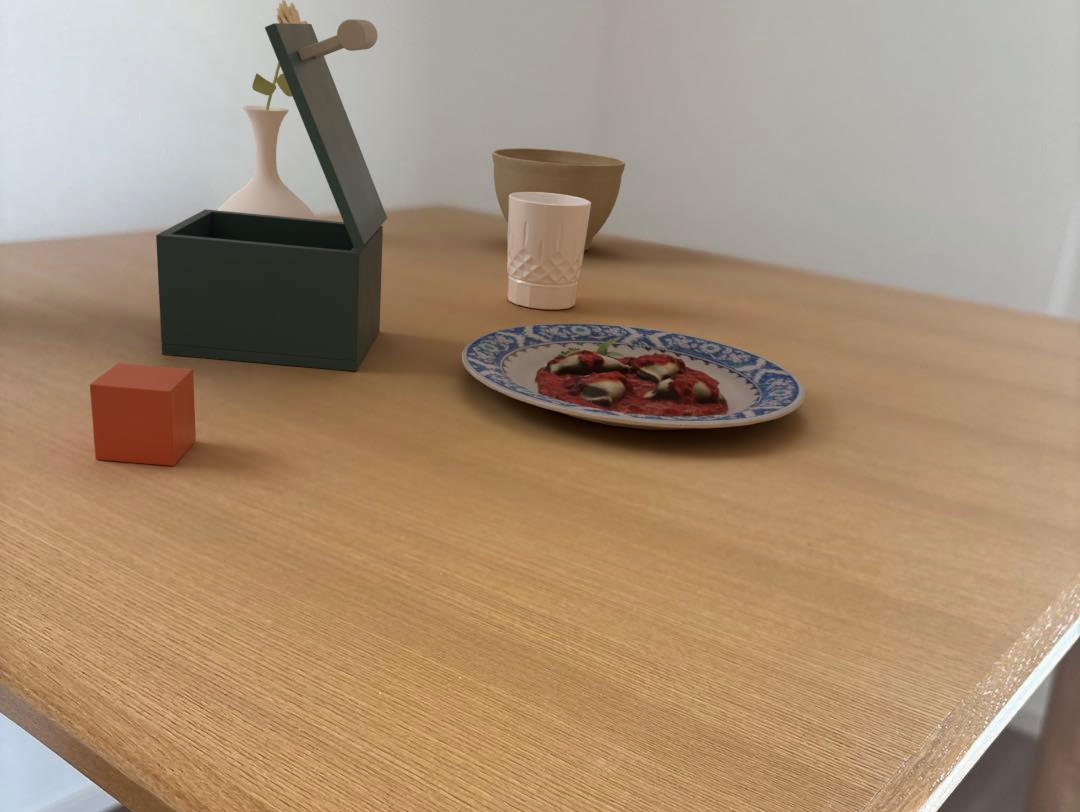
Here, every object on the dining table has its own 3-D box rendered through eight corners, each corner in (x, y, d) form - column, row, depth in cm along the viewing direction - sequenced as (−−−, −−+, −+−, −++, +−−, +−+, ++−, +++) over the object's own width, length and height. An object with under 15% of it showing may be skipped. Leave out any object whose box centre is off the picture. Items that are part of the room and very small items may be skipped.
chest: (161, 354, 85) (155, 234, 81) (208, 315, 96) (204, 209, 92) (356, 371, 85) (359, 253, 81) (379, 330, 96) (382, 225, 93)
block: (95, 459, 65) (89, 384, 63) (122, 434, 69) (117, 362, 67) (173, 466, 65) (170, 391, 63) (196, 440, 69) (193, 369, 67)
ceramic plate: (857, 459, 77) (866, 418, 76) (481, 449, 72) (484, 404, 71) (736, 355, 100) (742, 321, 98) (445, 342, 95) (447, 306, 94)
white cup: (565, 316, 108) (575, 208, 103) (489, 303, 110) (496, 196, 106) (590, 301, 114) (601, 199, 110) (518, 289, 117) (526, 189, 112)
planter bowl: (553, 231, 152) (561, 146, 147) (641, 255, 141) (652, 164, 137) (460, 237, 141) (465, 146, 137) (547, 263, 131) (556, 165, 126)
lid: (264, 27, 75) (344, -5, 74) (301, 27, 87) (371, -1, 86) (354, 249, 81) (429, 222, 80) (378, 221, 93) (444, 197, 92)
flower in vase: (266, 246, 125) (263, -3, 115) (195, 229, 131) (186, -11, 120) (346, 235, 135) (350, 6, 125) (277, 220, 141) (276, -1, 130)
